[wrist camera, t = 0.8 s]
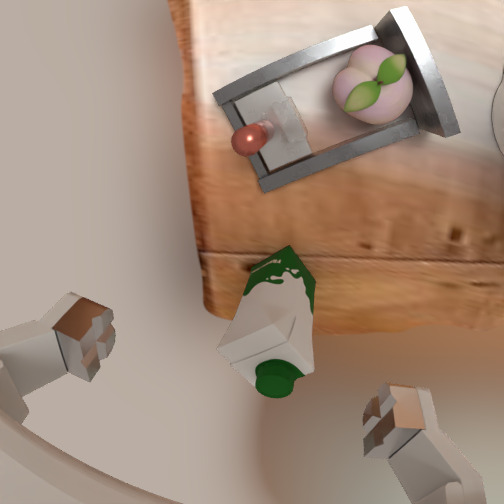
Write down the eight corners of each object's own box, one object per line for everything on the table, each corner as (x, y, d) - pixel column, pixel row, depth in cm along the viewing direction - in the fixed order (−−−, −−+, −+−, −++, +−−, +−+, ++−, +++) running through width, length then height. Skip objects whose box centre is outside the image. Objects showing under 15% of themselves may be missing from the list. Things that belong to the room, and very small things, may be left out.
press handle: (282, 80, 35) (268, 72, 25) (316, 149, 38) (316, 168, 28) (237, 101, 37) (208, 103, 27) (271, 167, 40) (255, 193, 30)
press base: (388, 23, 28) (406, 5, 21) (432, 124, 33) (460, 132, 25) (218, 93, 37) (193, 93, 29) (267, 187, 42) (255, 210, 34)
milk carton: (277, 306, 51) (254, 408, 33) (242, 264, 48) (200, 360, 31) (324, 282, 47) (322, 387, 29) (290, 235, 44) (270, 330, 27)
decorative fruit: (373, 135, 36) (391, 147, 27) (320, 97, 35) (322, 95, 26) (413, 81, 31) (441, 77, 23) (360, 41, 30) (374, 23, 22)
